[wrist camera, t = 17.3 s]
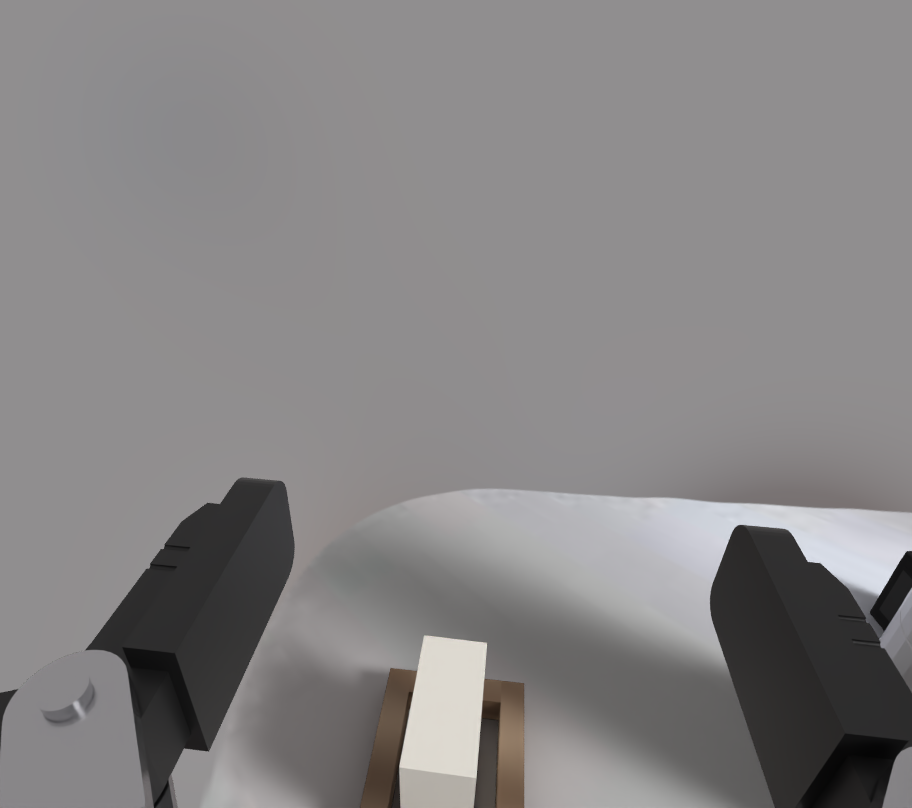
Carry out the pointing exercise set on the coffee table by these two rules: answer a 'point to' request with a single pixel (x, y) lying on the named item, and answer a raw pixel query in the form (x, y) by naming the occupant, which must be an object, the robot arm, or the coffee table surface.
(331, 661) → the coffee table surface
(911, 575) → the digital camera
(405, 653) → the coffee table surface
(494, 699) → the frame
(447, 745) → the key block
